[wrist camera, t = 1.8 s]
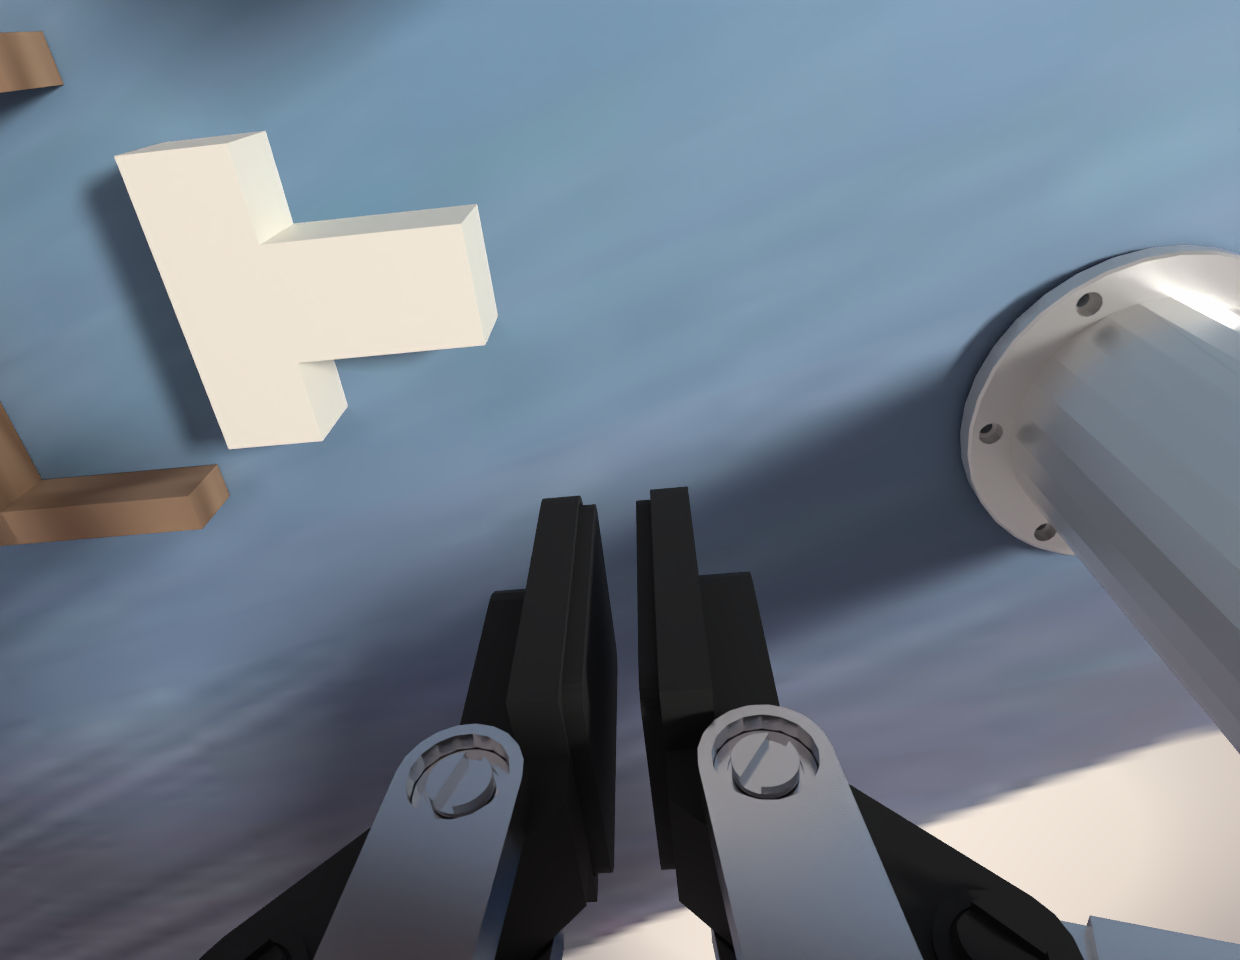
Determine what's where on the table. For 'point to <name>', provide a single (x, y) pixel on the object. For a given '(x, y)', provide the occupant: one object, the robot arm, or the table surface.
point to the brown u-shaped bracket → (98, 504)
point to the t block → (296, 283)
